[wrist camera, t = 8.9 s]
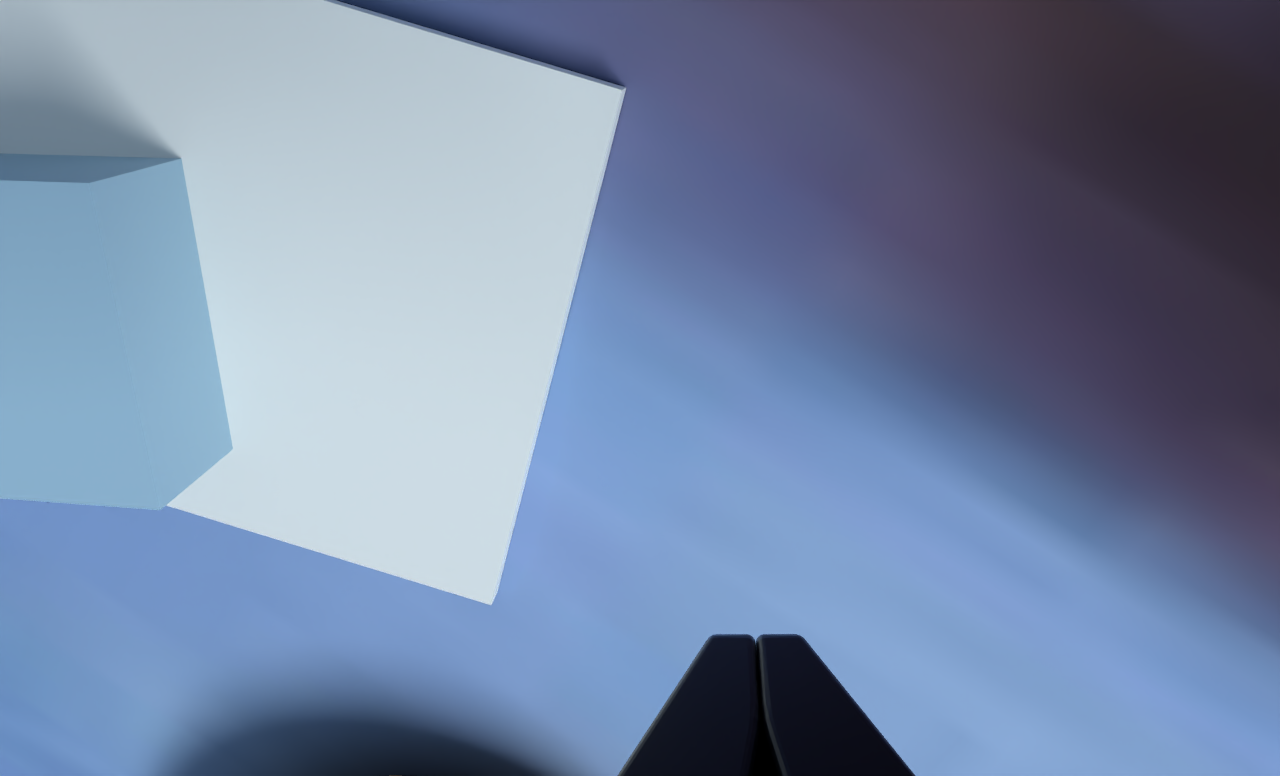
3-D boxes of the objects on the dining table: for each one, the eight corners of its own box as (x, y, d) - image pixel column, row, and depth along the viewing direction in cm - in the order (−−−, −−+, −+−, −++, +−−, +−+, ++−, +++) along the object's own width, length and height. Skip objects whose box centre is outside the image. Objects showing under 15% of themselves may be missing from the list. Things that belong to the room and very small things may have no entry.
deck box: (88, 183, 18) (-287, 171, 18) (160, 510, 20) (-172, 486, 21) (181, 158, 20) (-150, 149, 21) (233, 449, 23) (-64, 430, 24)
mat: (626, 87, 19) (622, 89, 19) (497, 591, 24) (491, 605, 24) (-2, -101, 19) (-24, -105, 19) (3, 440, 24) (-14, 449, 24)
